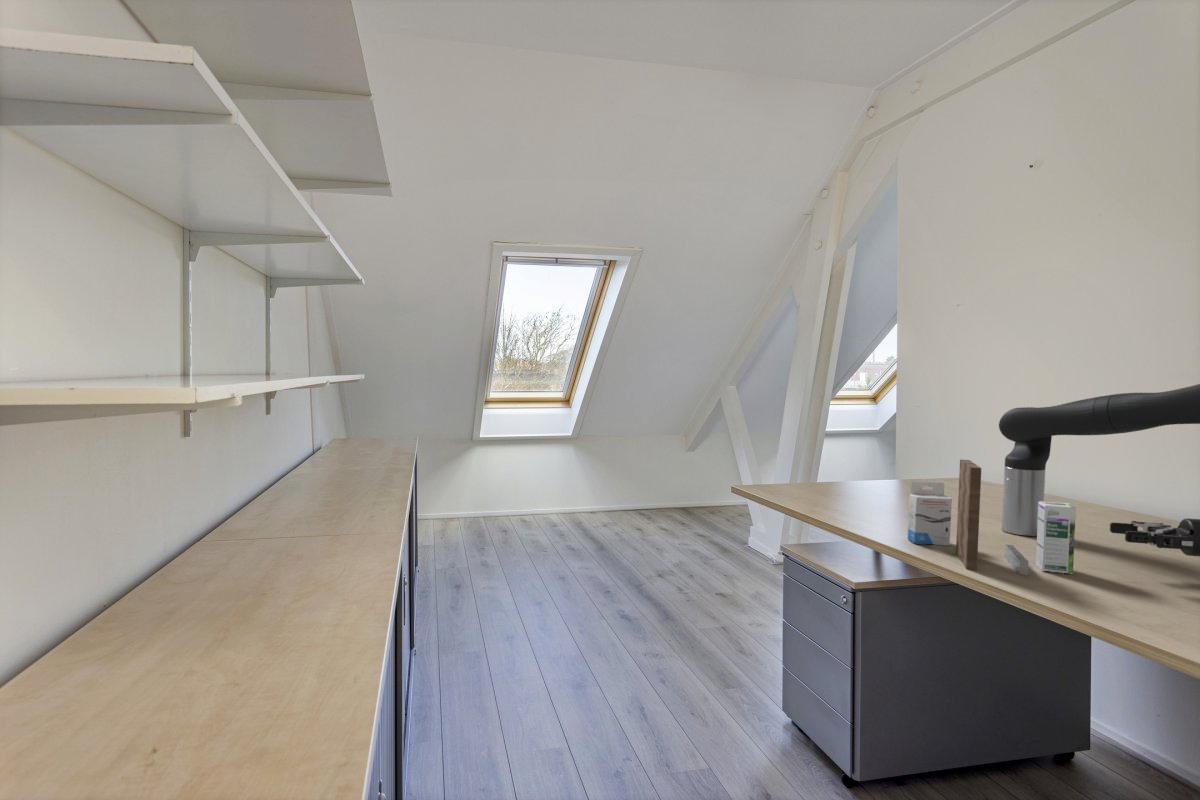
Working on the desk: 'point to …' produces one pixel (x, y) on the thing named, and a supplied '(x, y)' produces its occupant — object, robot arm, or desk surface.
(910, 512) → the ink box
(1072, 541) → the syrup box
